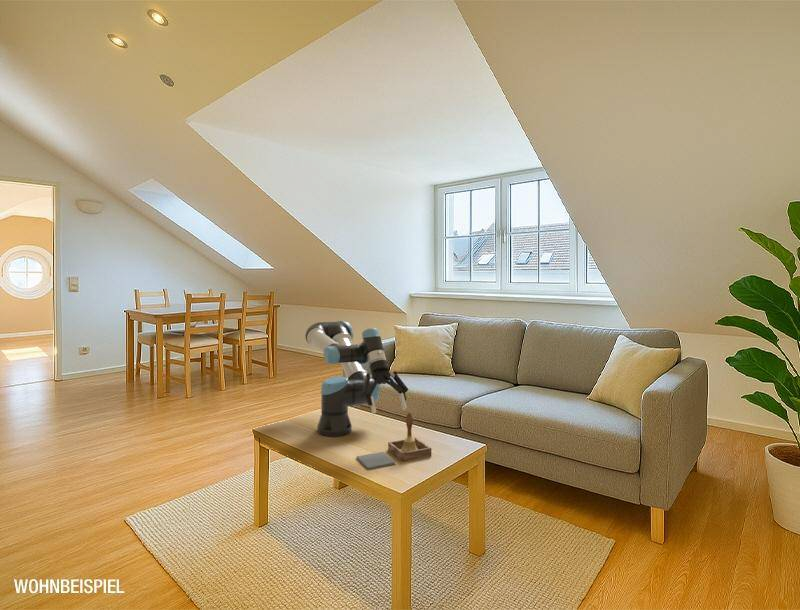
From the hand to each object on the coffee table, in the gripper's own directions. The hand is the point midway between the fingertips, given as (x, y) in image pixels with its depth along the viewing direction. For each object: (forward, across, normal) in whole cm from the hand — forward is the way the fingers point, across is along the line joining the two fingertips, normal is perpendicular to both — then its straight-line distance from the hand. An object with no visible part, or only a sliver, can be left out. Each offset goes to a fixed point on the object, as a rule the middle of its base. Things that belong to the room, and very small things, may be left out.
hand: (390, 411), depth 189 cm
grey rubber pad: (+18, -10, +2) cm, 21 cm away
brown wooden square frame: (+17, +5, +3) cm, 18 cm away
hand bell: (+17, +5, +3) cm, 18 cm away
